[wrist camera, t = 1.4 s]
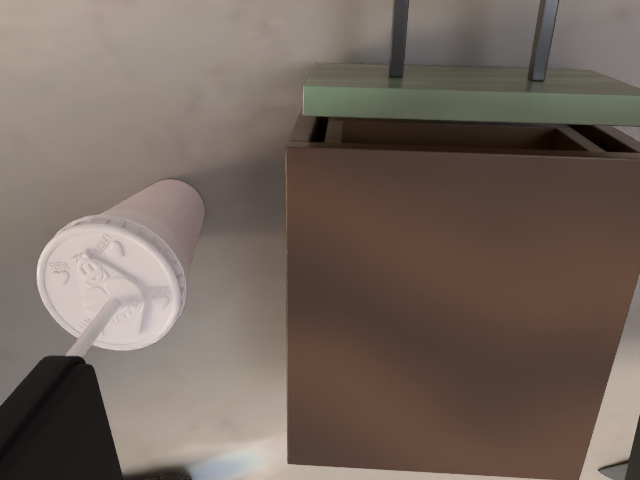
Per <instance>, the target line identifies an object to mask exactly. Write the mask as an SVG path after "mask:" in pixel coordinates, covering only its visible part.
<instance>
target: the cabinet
mask: <svg viewBox="0 0 640 480" xmlns="http://www.w3.org/2000/svg"><path fill="white" fill-rule="evenodd" d="M328 118H329V117H320V116H303V107H302V110H301V112H300V114H299V117H298V119H297V122H296V124H295V126H294V129H293V131H292V133H291V136H290V138H289V140H288V142H287V145H286V147H285V196H286V333H287V463H288V464H296V465H313V466H330V467H347V468H364V469H381V470H398V471H415V472H432V473H449V474H466V475H483V476H500V477H517V478H534V479H551V480H579V478H580V475H581V471H582V468H583V464H584V461H585V458H586V454H587V451H588V447H589V444H590V440H591V437H592V434H593V430H594V427H595V423H596V420H597V417H598V413H599V410H600V406H601V403H602V399H603V396H604V393H605V389H606V386H607V382H608V379H609V376H610V372H611V369H612V365H613V362H614V359H615V355H616V352H617V348H618V345H619V341H620V338H621V335H622V331H623V328H624V324H625V321H626V318H627V314H628V311H629V307H630V304H631V301H632V297H633V294H634V290H635V287H636V283H637V280H638V277H639V273H640V142H639V141H637V140H635V139H633V138H632V137H630V136H628V135H626V134H624V133H623V132H621V131H619V130H617V129H616V128H614V127H612V126H605V125H574V124H566V125H568V126H569V127H571V128H572V129H573V130H575V131H576V132H578V133H579V134H581V135H582V136H584V137H585V138H587V139H588V140H590V141H591V142H593V143H594V144H596V145H597V146H599V147H600V148H602V149H603V150H605V151H606V152H593V151H564V150H534V149H504V148H474V147H444V146H415V145H385V144H355V143H325V142H324V139H325V134H326V129H327V124H328Z"/></svg>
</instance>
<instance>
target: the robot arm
mask: <svg viewBox="0 0 640 480" xmlns="http://www.w3.org/2000/svg"><path fill="white" fill-rule="evenodd" d="M0 480H123V476H122V472H121V468H120V464H119V460H118V456H117V453H116V449H115V445H114V441H113V438H112V434H111V430H110V426H109V422H108V419H107V415H106V411H105V407H104V404H103V400H102V396H101V392H100V388H99V385H98V381H97V377H96V373H95V370H94V368H93V367H92V365H89V364H86V362H85V360H84V359H83V358H82V357H80V356H46V357H44V358H43V359H42V360H41V361H40V362H39V363H38V364H37V365H36V366H35V368H34V369H33V370H32V371H31V372H30V373H29V374H28V375H27V377H26V378H25V379H24V380H23V381H22V382H21V383H20V385H19V386H18V387H17V388H16V389H15V390H14V391H13V392H12V394H11V395H10V396H9V397H8V398H7V399H6V400H5V402H4V403H3V404H2V405H1V406H0ZM625 480H640V416H639V420H638V424H637V429H636V433H635V437H634V441H633V446H632V450H631V454H630V459H629V463H628V467H627V471H626V476H625Z"/></svg>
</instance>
